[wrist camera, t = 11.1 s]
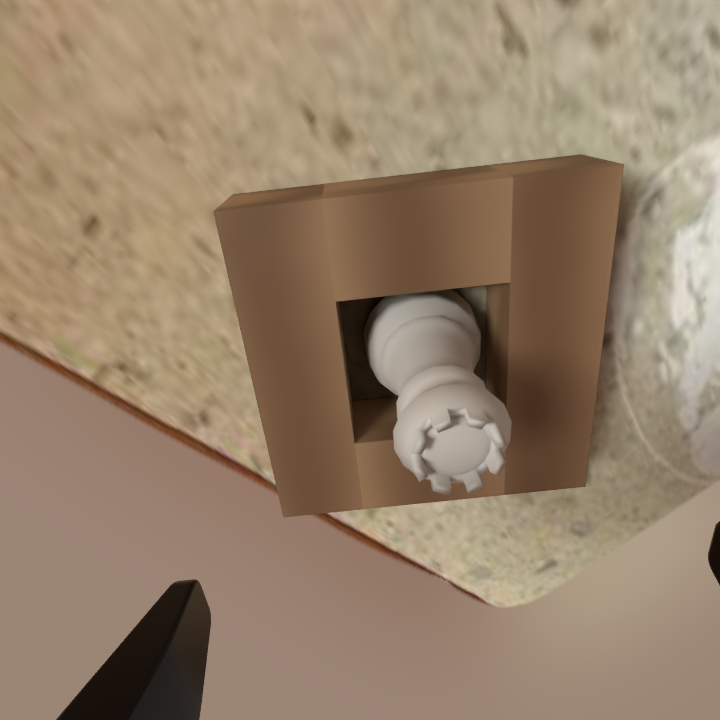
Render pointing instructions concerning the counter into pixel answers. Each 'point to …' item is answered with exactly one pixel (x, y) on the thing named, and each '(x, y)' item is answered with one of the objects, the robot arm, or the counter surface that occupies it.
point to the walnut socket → (413, 275)
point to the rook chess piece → (437, 388)
